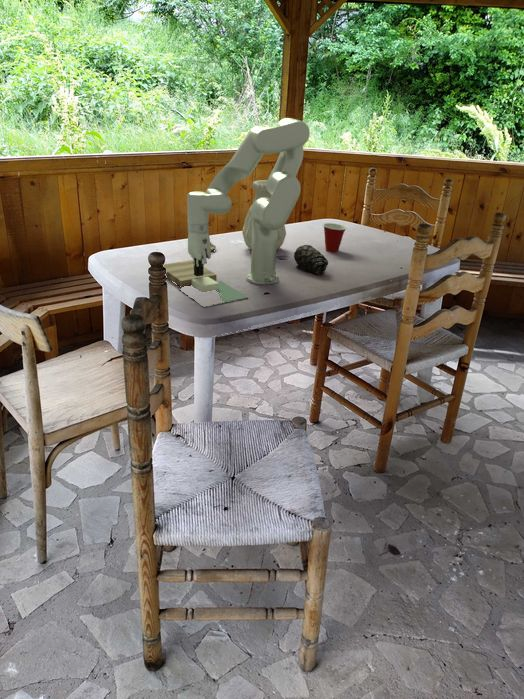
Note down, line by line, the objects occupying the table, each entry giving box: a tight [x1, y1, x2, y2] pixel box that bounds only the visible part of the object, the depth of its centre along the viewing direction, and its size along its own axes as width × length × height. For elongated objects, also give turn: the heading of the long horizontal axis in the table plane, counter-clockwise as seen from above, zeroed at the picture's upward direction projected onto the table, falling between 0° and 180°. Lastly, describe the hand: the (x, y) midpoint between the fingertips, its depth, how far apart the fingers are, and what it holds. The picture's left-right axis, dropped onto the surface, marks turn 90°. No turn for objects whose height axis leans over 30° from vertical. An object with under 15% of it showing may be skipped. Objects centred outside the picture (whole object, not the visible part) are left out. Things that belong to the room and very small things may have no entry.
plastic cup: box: [322, 222, 348, 254], centre depth 254 cm, size 11×11×12 cm
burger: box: [210, 242, 217, 253], centre depth 248 cm, size 12×12×8 cm
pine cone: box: [293, 244, 329, 277], centre depth 228 cm, size 10×18×10 cm, turn 41°
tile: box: [192, 277, 219, 292], centre depth 205 cm, size 8×7×2 cm
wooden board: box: [163, 259, 217, 287], centre depth 216 cm, size 20×15×3 cm
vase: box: [241, 179, 287, 251], centre depth 247 cm, size 20×20×30 cm
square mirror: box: [216, 280, 249, 303], centre depth 202 cm, size 19×18×1 cm
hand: (198, 275), depth 208 cm, fingers closed
